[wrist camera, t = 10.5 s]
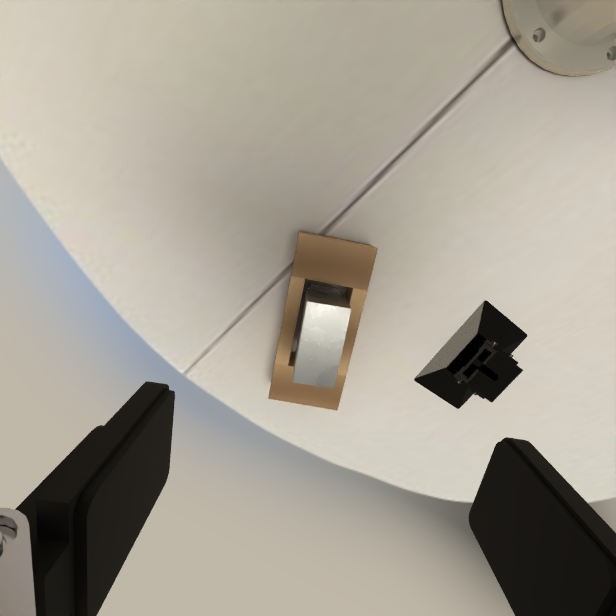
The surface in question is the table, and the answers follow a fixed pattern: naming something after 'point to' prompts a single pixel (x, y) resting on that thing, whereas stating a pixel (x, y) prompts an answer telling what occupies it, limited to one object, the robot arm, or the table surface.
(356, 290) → the slotted wooden block
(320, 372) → the clip
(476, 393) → the black stepped block
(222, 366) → the table surface
